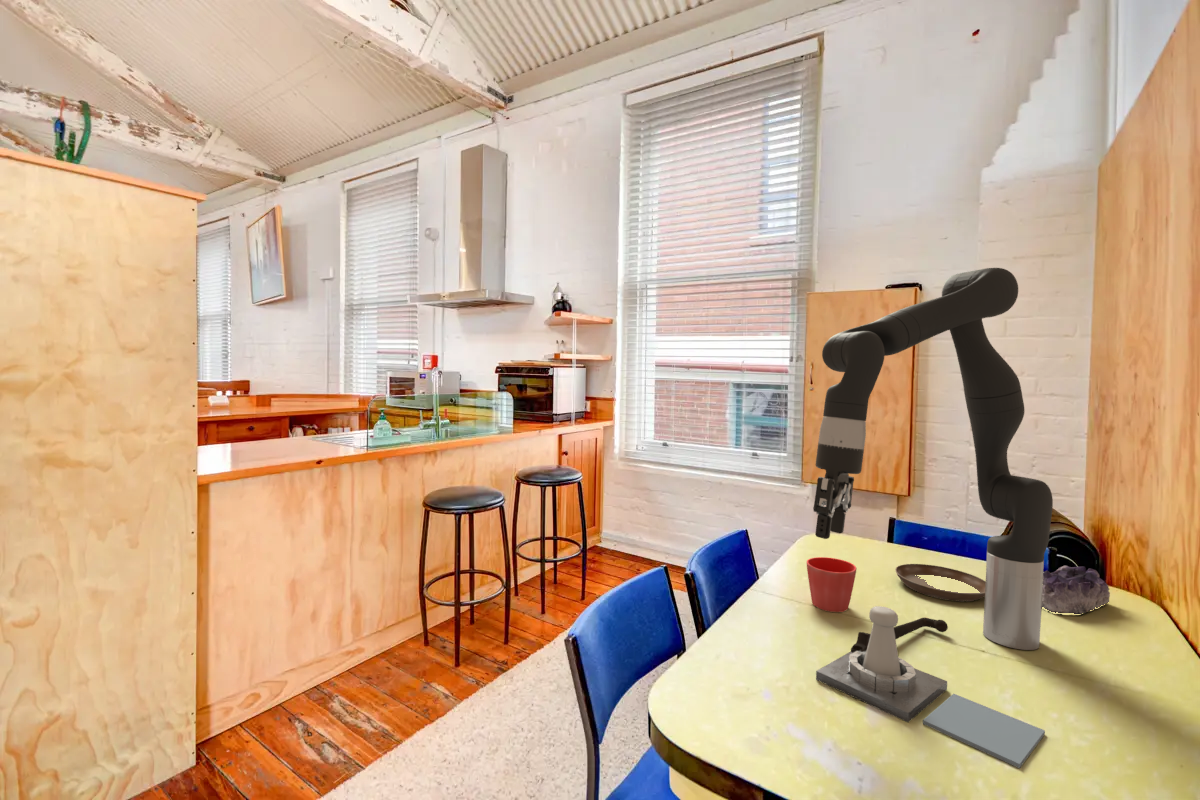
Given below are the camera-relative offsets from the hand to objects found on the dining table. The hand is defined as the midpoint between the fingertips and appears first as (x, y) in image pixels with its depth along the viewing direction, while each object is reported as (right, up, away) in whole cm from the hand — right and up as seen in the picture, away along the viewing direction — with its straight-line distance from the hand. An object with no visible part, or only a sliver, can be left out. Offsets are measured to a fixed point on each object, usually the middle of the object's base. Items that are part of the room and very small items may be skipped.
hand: (829, 534), depth 99 cm
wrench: (+18, -24, +9) cm, 31 cm away
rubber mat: (+16, -25, -16) cm, 34 cm away
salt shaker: (+7, -25, -4) cm, 26 cm away
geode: (+71, -25, +33) cm, 82 cm away
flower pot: (+12, -24, +29) cm, 40 cm away
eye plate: (+7, -25, -4) cm, 26 cm away
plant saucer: (+46, -24, +42) cm, 67 cm away
